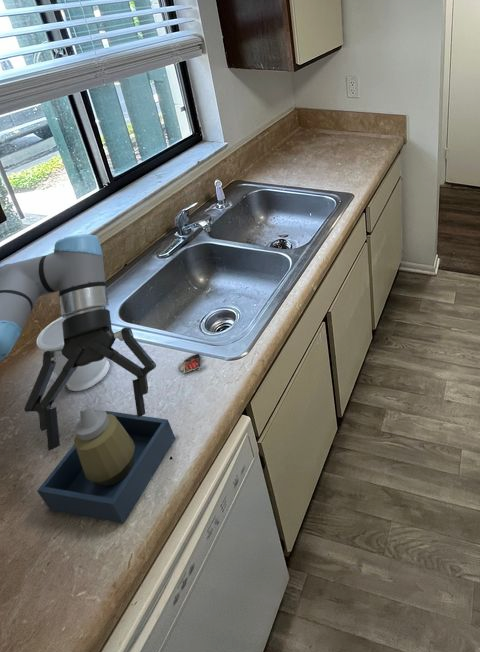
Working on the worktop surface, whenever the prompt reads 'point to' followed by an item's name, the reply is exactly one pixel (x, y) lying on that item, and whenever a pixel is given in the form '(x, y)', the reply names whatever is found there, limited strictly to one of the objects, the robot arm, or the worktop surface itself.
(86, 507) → the bin
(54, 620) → the worktop surface
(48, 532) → the worktop surface
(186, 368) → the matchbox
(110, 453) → the squeeze bottle
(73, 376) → the jar
